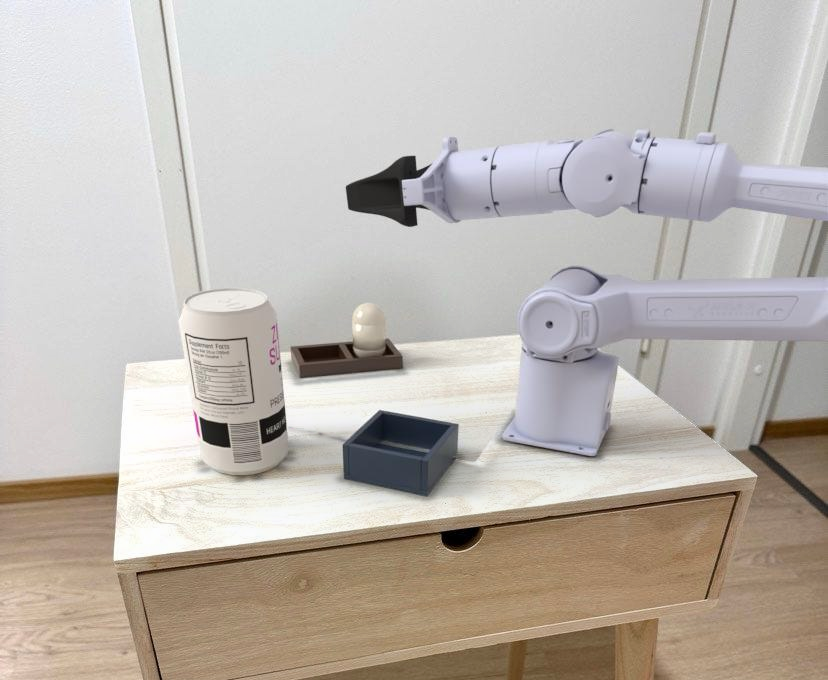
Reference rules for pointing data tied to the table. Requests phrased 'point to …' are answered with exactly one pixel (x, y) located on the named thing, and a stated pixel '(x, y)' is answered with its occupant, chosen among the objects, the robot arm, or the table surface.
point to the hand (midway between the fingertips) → (368, 194)
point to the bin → (400, 452)
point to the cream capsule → (369, 330)
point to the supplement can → (235, 379)
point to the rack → (341, 359)
